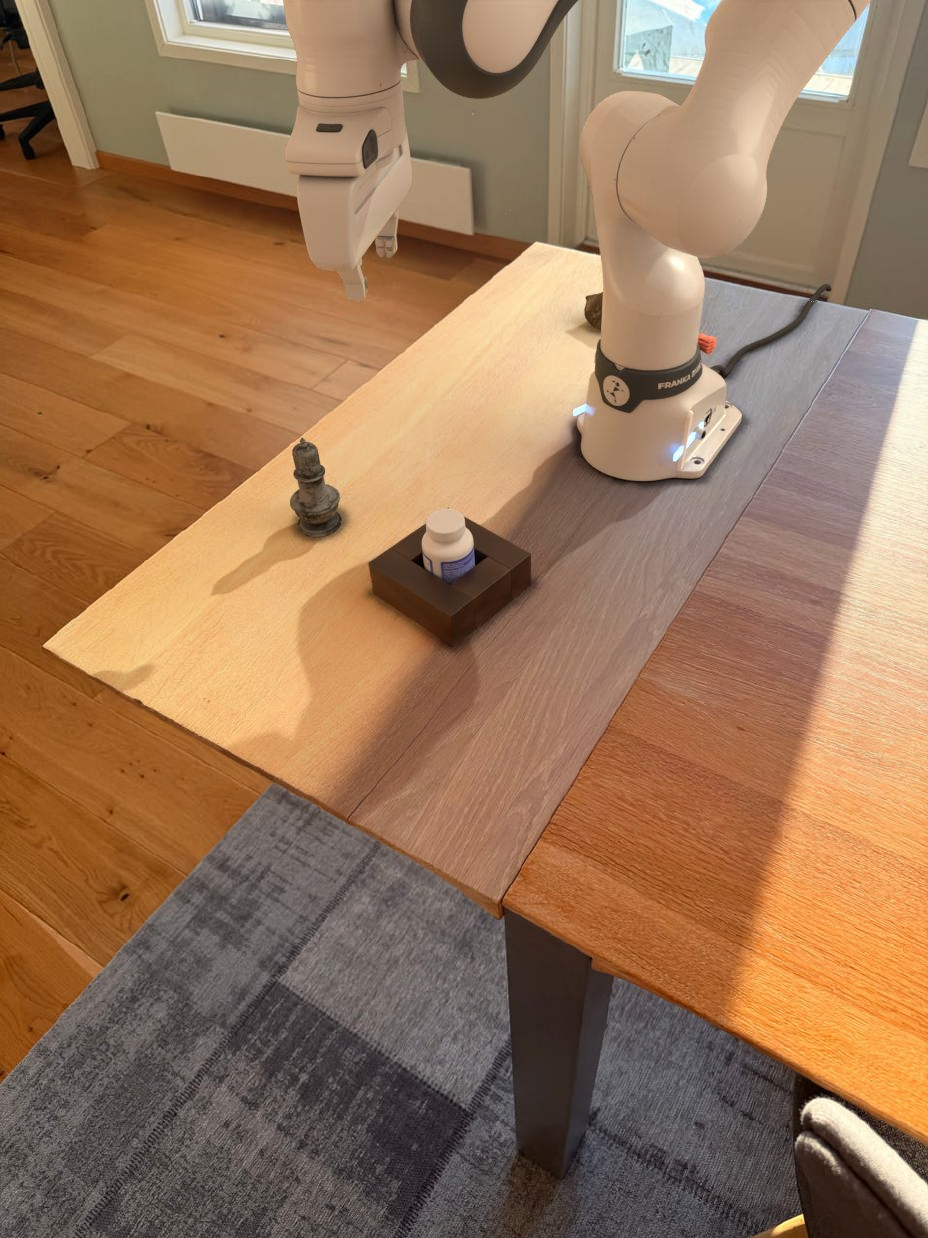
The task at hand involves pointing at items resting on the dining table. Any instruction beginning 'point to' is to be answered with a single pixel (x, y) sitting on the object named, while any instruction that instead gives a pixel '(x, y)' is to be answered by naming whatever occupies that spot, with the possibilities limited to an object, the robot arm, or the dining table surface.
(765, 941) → the dining table surface
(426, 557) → the pill bottle
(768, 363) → the dining table surface
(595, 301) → the fossilized seashell
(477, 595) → the socket block
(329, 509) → the grey metal finial
